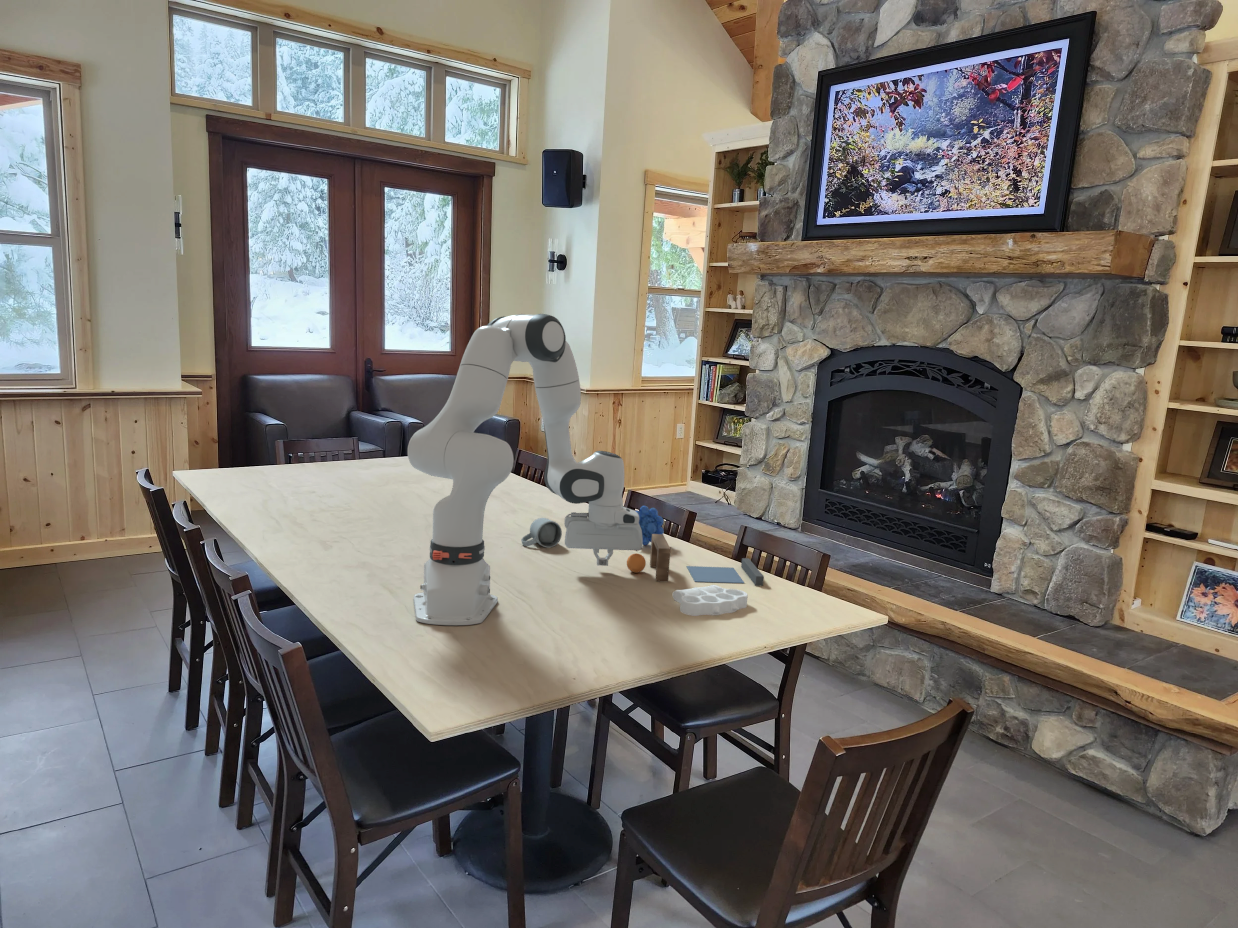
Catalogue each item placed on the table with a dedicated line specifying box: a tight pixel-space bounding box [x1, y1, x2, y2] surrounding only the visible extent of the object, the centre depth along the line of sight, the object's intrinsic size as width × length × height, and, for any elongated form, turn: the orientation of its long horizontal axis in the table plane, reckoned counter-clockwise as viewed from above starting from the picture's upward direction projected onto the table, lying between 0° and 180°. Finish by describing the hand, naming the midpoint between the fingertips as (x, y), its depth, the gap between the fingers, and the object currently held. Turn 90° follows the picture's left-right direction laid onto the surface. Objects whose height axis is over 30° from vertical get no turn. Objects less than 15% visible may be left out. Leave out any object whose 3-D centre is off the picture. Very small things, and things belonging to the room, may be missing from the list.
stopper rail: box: [740, 557, 765, 587], centre depth 222 cm, size 16×2×2 cm, turn 5°
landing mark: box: [686, 565, 745, 584], centre depth 221 cm, size 13×13×1 cm
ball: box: [626, 553, 647, 573], centre depth 219 cm, size 5×5×5 cm
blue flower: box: [635, 505, 665, 546], centre depth 244 cm, size 12×7×12 cm, turn 117°
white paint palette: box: [672, 584, 749, 617], centre depth 197 cm, size 3×18×15 cm
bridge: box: [649, 533, 671, 583], centre depth 219 cm, size 3×14×9 cm, turn 5°
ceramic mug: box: [521, 517, 563, 549], centre depth 240 cm, size 11×8×8 cm
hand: (602, 565), depth 218 cm, fingers closed
